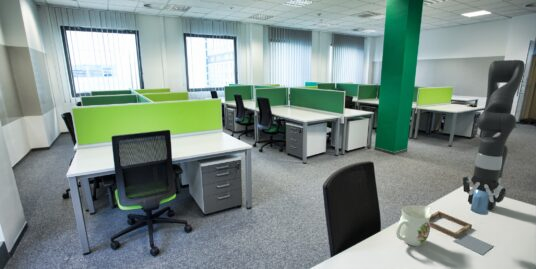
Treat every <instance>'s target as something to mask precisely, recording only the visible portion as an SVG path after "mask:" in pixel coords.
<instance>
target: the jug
mask: <svg viewBox="0 0 536 269" xmlns="http://www.w3.org/2000/svg"><path fill="white" fill-rule="evenodd" d="M491 193H493V192H492V191H491ZM489 201H490V200H489V196H488V193H487V192H485V191H482V190H479V189H475V190H474V193H473V199H472V204H470V211H471V212H473V213H475V214H477V215H482V216H487V215H489V213H490V211H489V210H487V209H488V204H489Z"/></svg>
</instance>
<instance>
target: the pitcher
mask: <svg viewBox="0 0 536 269" xmlns="http://www.w3.org/2000/svg"><path fill="white" fill-rule="evenodd" d="M431 215H432V213H431V206H429V205H406V206H405V205H404V206H402V208H401V216H400V218H399V221H398V222H399V223H398V224H397V226H396V231H395V233H396V234H395V236H396V237H397V239H398V240H400V241H404V243H405V244H407V245H410V246H413V247H420V246H422V245H423V244H424V243H425V242H426V241H427V239H428V237H429V236H430V232H431V227H430V223H429V219H430V217H431Z"/></svg>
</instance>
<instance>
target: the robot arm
mask: <svg viewBox="0 0 536 269" xmlns="http://www.w3.org/2000/svg"><path fill="white" fill-rule="evenodd" d="M525 66H526V64H525V62H524V61H523V60H520V59H508V60H507V59H504V60H503V59H502V60H501V59H500V60H493V61H492V62H491V63H490V65H489V68H488V74H487V89H486V90H487V92H486V100H485V105H484V110H483V111H482V112H481V113H480V114H479V116H478V118H477V120H476V126H477V128H478V129H479V130H480V131H481V135H480V141H479V145H478V149H477V155H476V158H475V162H474V169H473V174H472V175H473V176H472V177H469V176H464V177H463V178H462V187H463V192H464V193H467V194H468V196H467V202H468V203H469V205H471V204H472V199H473V193H474V190H475V189H479V190H482V191H485V192H487V193H488V196H489V200H490V201H489V204H488V209H487V210H489V212H491V211H495V210H496V207H497V204H499V203H501V202H503V201H504V199H505V197H506V195H507V192H508V191H509V187H507V186H502V185H501V182H502V178H503V171H504V166H505V163H506V160H507V156H508V150H509V149H508V146H507V145H506V142H507V140H508V139H509V137H510V134H511V133H512V132H513V130H514V129H515V127H516V125H517V119H516V117H515V115H513V114H512V113H511V112H512V110H513V109H512V108H513V104H514V99H515V95H516V93H517V92H518V90H519V87H520V85H521V83H522V79H523V77H524V73H525ZM500 83H501V84H503V85H502V86H500V87H499V86H498V85H499V84H500ZM498 133H499V135H497V134H498ZM496 135H497V136H496ZM471 182H472V184H473V186H472V188H470V187H471V186H470V183H471ZM491 191H492V192H493V193H491Z"/></svg>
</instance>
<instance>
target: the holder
mask: <svg viewBox="0 0 536 269" xmlns="http://www.w3.org/2000/svg"><path fill="white" fill-rule="evenodd" d="M438 217H440V218H444V219H446V220H448V221H451V222H452V223H455V224H457V225H460V226H461V227H462V228H460V229H458V230H457V231H455V232H454V231H452V230H449V229H447V228H445V227H443V226H441V225H438V224H437V223H434V222H432V220H434V219H436V218H438ZM429 223H430V228H432V229H435V230H437V231H438V232H441V233H443V234H445V235H447V236H449V237H452V238H454V239H457V238H459V237H460V236H462V235H463V234H466V232H468V231H469V230H471V229H472V227H473V224H471V223H468V222H466V221H464V220H462V219H459V218H457V217H454V216H451V215H450V214H446V213H444V212H442V211H440V210H438V211H436V212H434V213H431V217H430V219H429Z"/></svg>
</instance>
